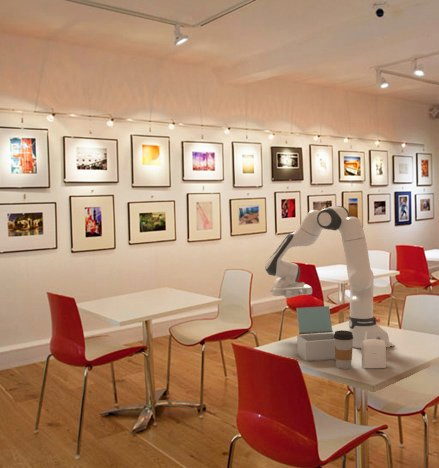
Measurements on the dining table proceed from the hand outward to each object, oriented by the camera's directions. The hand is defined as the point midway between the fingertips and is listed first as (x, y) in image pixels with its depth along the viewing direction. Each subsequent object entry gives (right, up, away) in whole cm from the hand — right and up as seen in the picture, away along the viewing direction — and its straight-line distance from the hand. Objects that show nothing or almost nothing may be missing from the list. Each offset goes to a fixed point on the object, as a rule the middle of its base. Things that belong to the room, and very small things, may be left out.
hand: (296, 293), depth 265 cm
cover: (+7, -11, -12) cm, 18 cm away
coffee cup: (+16, -28, -33) cm, 46 cm away
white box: (+9, -27, -18) cm, 34 cm away
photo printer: (+28, -28, -35) cm, 53 cm away
